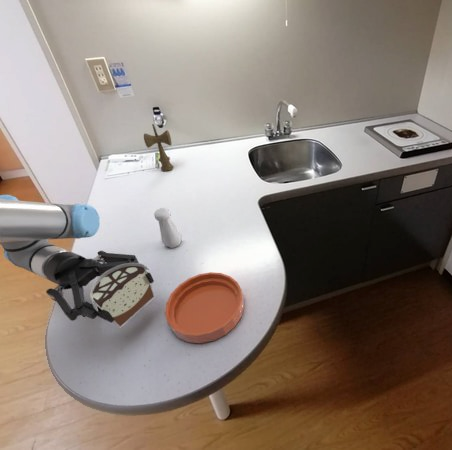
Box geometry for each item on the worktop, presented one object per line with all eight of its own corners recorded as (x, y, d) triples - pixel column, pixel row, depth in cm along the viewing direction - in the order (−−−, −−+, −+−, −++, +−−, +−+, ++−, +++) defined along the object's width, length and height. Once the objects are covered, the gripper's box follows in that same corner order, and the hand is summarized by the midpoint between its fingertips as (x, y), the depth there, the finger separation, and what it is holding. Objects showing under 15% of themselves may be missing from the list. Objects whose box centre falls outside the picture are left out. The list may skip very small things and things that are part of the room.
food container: (142, 282, 75) (127, 253, 69) (160, 292, 73) (146, 263, 66) (95, 321, 67) (73, 292, 60) (113, 333, 64) (92, 305, 58)
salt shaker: (178, 234, 99) (167, 202, 91) (186, 244, 96) (174, 211, 88) (161, 243, 96) (147, 210, 88) (168, 252, 93) (154, 219, 85)
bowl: (216, 356, 68) (212, 347, 65) (153, 327, 74) (148, 318, 71) (257, 294, 81) (255, 285, 78) (201, 274, 86) (197, 264, 84)
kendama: (179, 170, 131) (165, 125, 118) (155, 174, 129) (138, 128, 116) (179, 164, 136) (166, 119, 123) (156, 167, 133) (140, 122, 121)
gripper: (108, 246, 82) (173, 271, 75) (20, 314, 66) (92, 353, 59) (96, 225, 77) (164, 249, 70) (-3, 292, 61) (73, 332, 54)
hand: (131, 296), depth 64 cm, fingers closed on food container, 10 cm apart
